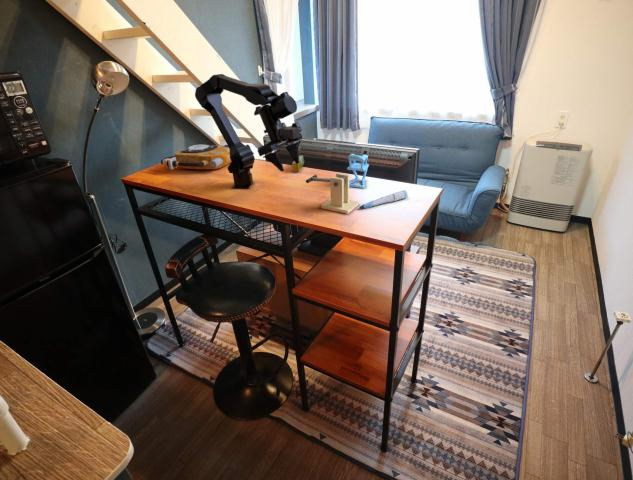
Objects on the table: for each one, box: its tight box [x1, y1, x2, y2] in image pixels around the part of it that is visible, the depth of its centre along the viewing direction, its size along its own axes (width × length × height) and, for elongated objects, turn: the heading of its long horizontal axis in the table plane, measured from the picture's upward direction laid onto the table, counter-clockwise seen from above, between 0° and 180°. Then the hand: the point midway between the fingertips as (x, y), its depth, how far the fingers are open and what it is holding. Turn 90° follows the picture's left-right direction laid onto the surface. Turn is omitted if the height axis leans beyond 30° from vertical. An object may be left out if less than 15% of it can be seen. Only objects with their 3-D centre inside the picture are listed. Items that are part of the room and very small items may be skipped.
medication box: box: [291, 154, 305, 173], centre depth 152 cm, size 12×3×4 cm, turn 171°
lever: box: [305, 174, 345, 185], centre depth 114 cm, size 13×6×2 cm, turn 58°
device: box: [160, 144, 232, 170], centre depth 158 cm, size 23×8×30 cm
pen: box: [358, 189, 409, 209], centre depth 116 cm, size 19×3×3 cm, turn 118°
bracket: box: [320, 172, 359, 215], centre depth 114 cm, size 10×8×11 cm
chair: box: [346, 153, 370, 189], centre depth 131 cm, size 8×8×12 cm
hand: (290, 167), depth 120 cm, fingers open, 9 cm apart
